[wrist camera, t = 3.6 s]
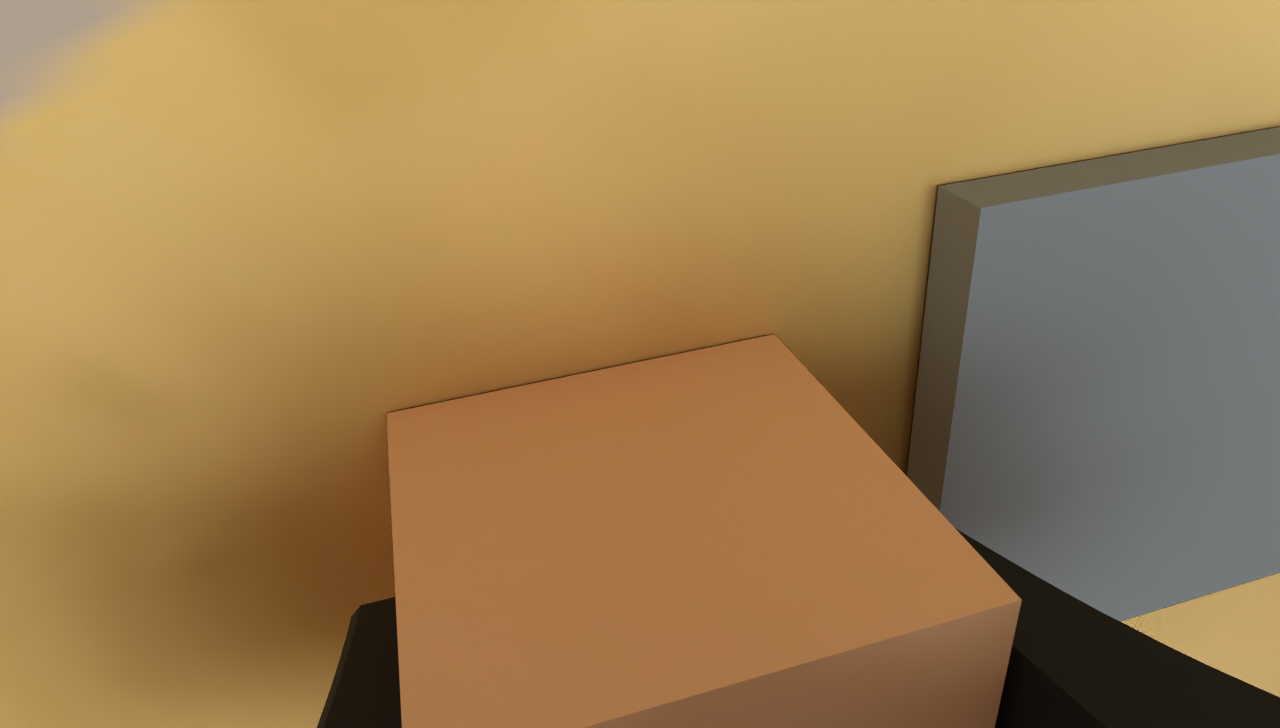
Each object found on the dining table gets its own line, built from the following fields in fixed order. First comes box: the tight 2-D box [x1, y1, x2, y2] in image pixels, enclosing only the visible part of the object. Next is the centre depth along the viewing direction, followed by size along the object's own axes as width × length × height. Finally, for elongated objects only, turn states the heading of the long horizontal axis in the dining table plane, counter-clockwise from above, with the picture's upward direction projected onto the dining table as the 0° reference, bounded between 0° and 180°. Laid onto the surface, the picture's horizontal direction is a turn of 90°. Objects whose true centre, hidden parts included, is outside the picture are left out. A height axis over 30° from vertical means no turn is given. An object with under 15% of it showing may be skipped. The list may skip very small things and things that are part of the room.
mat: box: [907, 127, 1280, 621], centre depth 12 cm, size 8×8×1 cm
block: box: [386, 334, 1022, 728], centre depth 9 cm, size 4×4×4 cm
